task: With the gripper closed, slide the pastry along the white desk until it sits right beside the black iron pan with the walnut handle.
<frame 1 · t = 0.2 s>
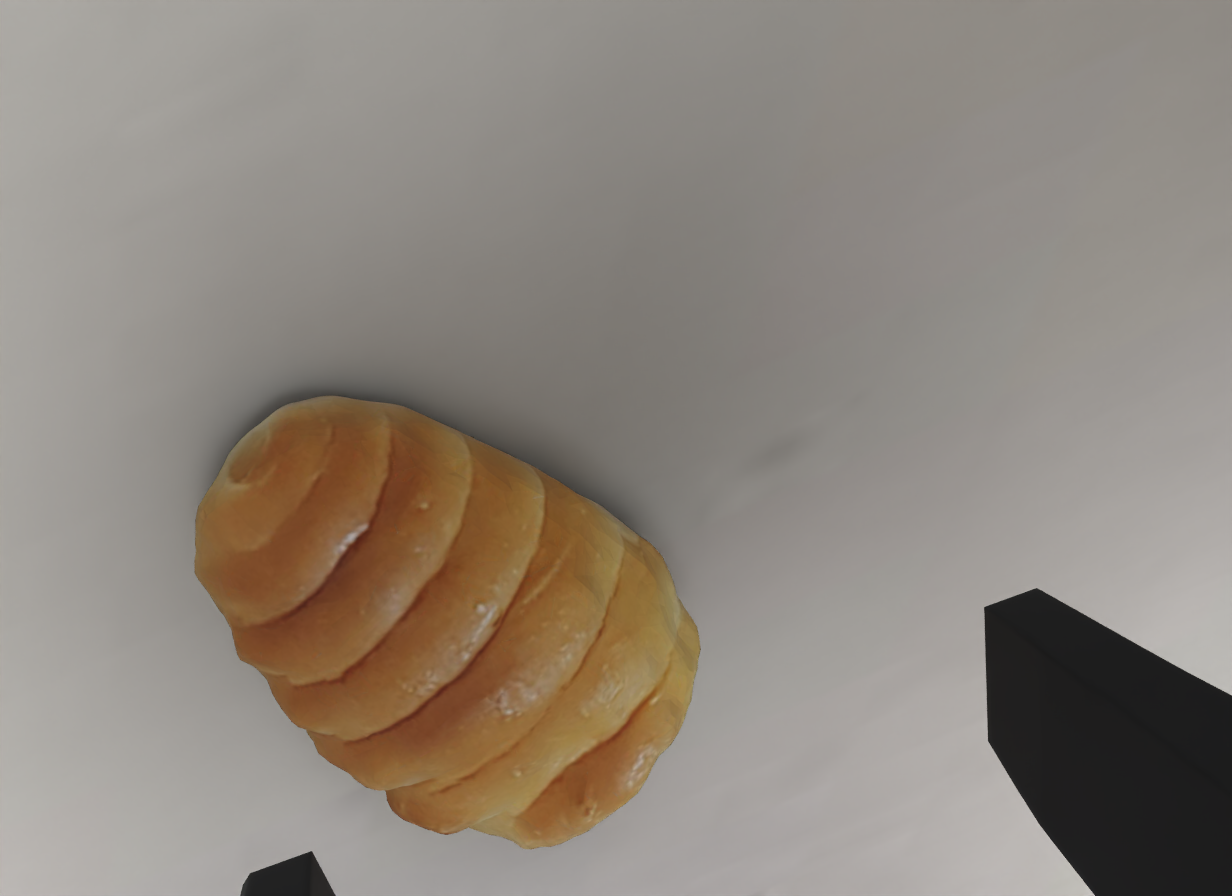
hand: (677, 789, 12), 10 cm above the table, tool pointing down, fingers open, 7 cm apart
pastry: (446, 588, 23), on the table
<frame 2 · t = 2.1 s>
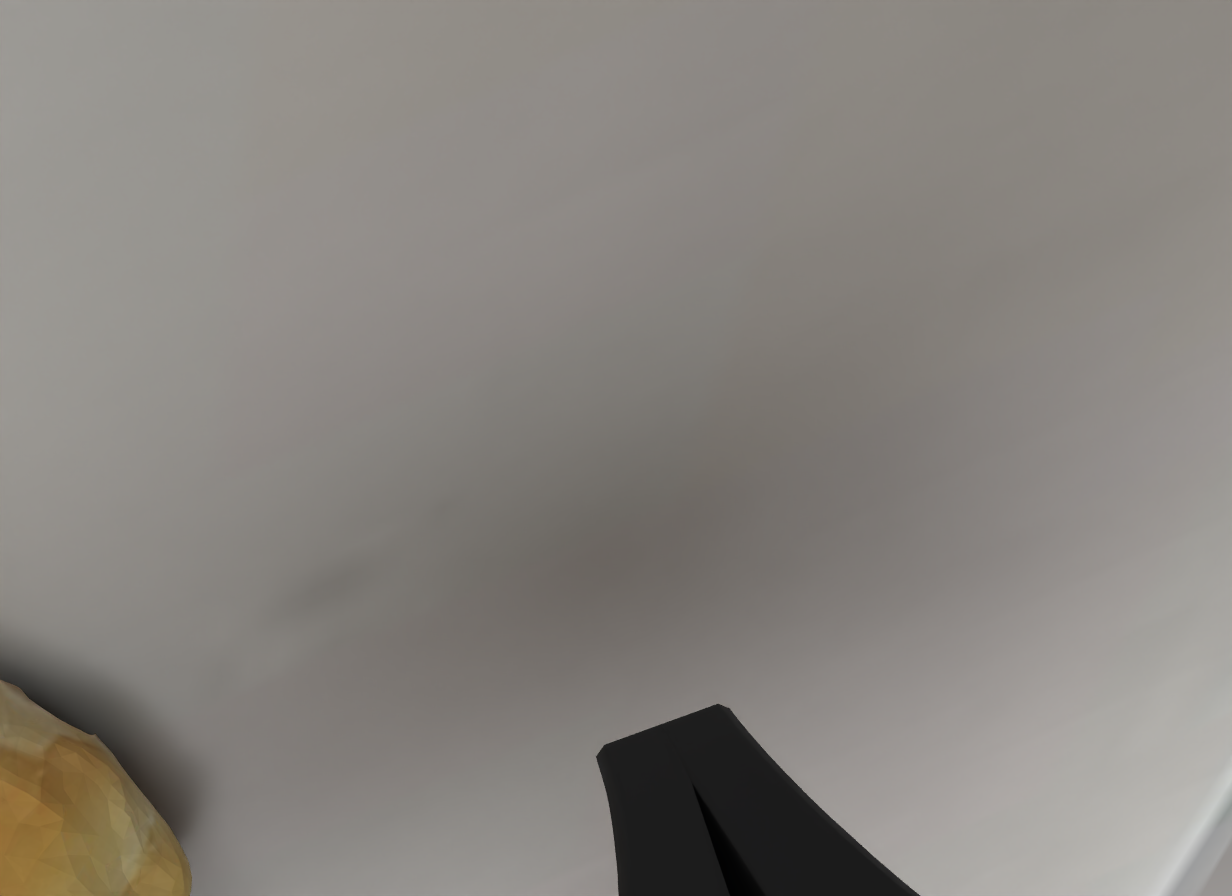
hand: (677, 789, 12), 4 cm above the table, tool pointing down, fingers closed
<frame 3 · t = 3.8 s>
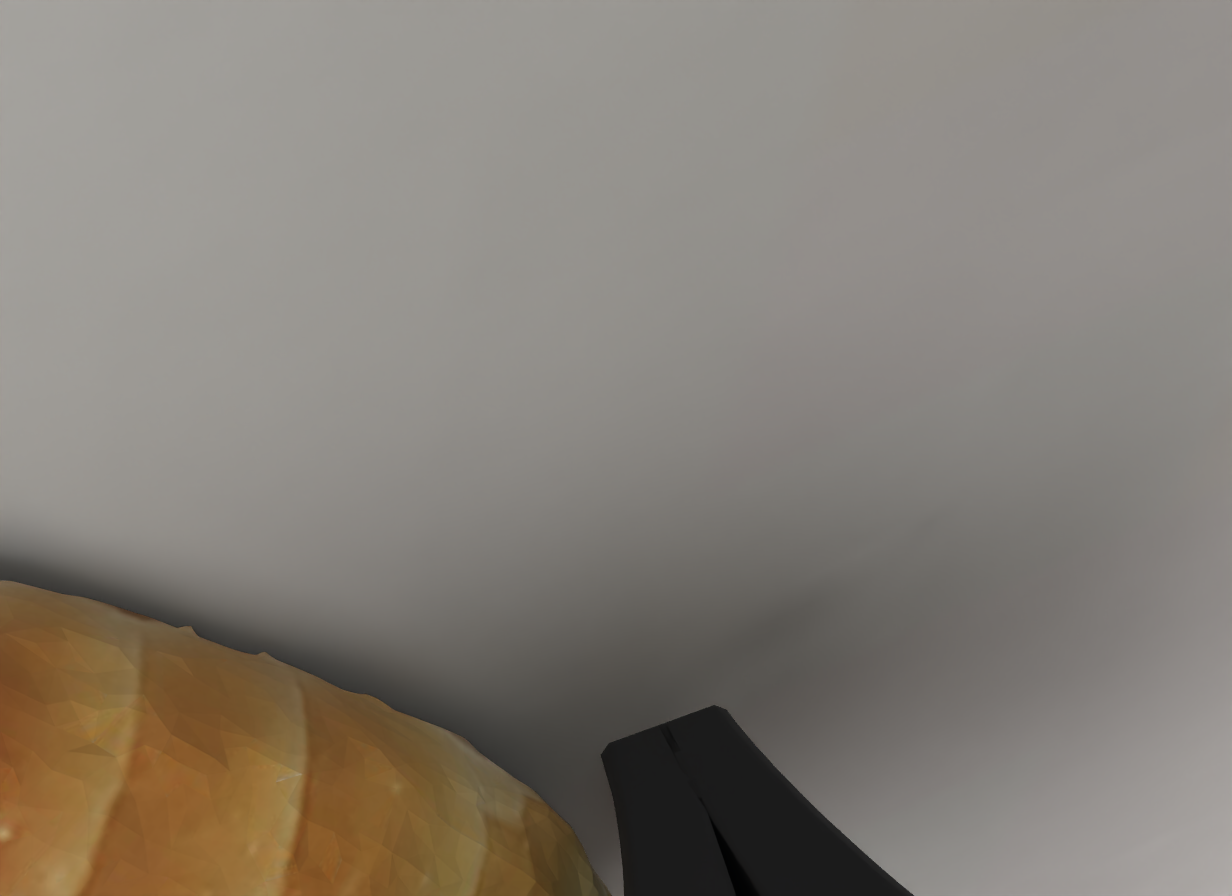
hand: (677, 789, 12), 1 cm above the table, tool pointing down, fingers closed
pastry: (186, 876, 12), on the table, touching gripper
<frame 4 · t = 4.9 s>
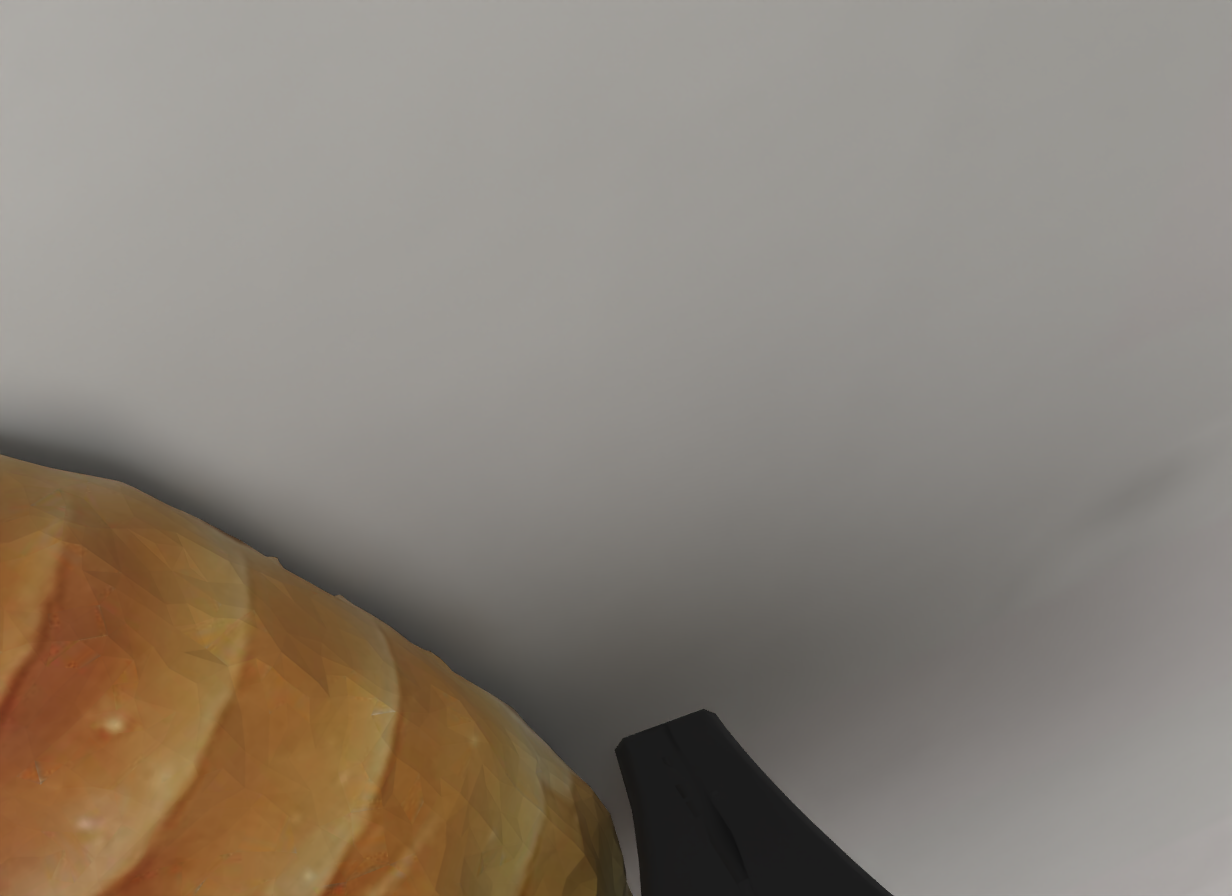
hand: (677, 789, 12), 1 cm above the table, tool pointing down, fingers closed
pastry: (202, 820, 12), on the table, touching gripper
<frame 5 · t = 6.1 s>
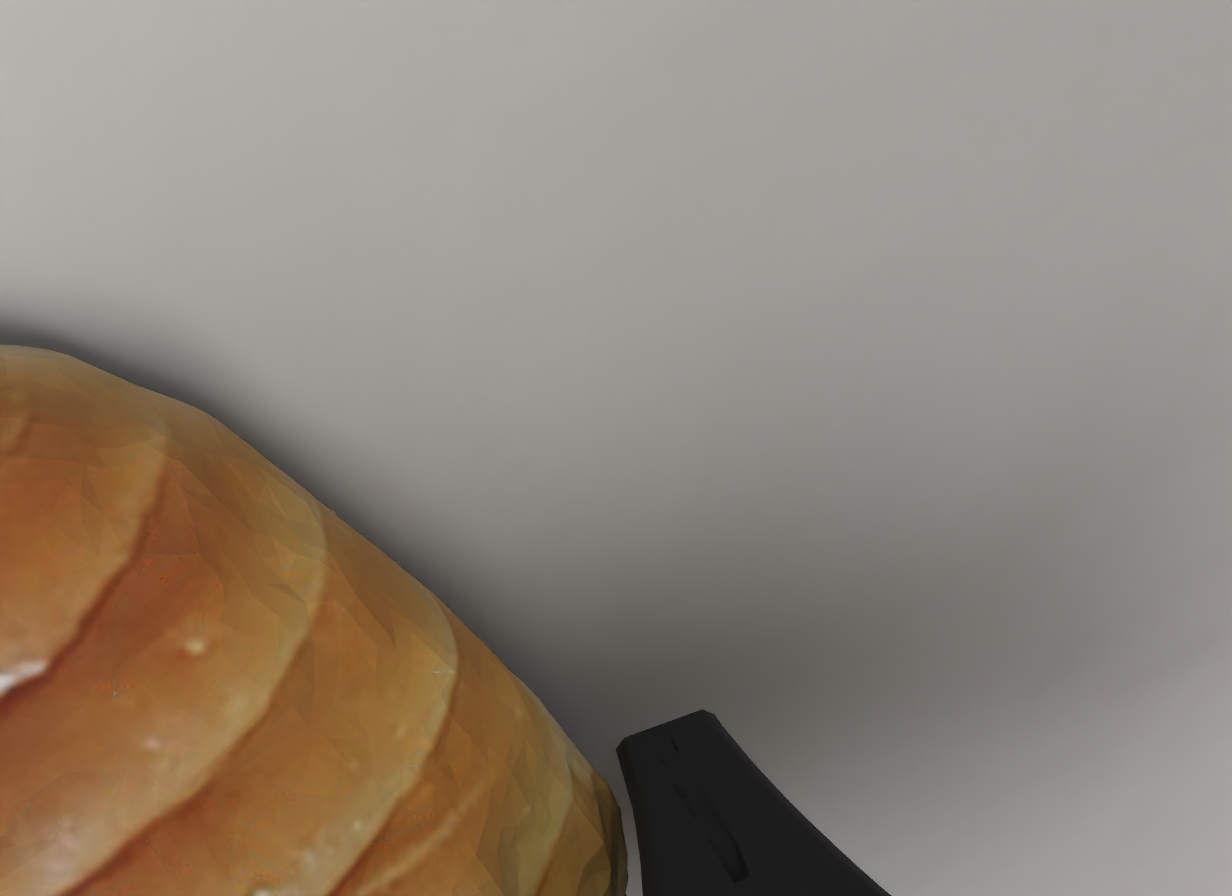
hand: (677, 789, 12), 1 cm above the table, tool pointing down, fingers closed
pastry: (202, 776, 12), on the table, touching gripper
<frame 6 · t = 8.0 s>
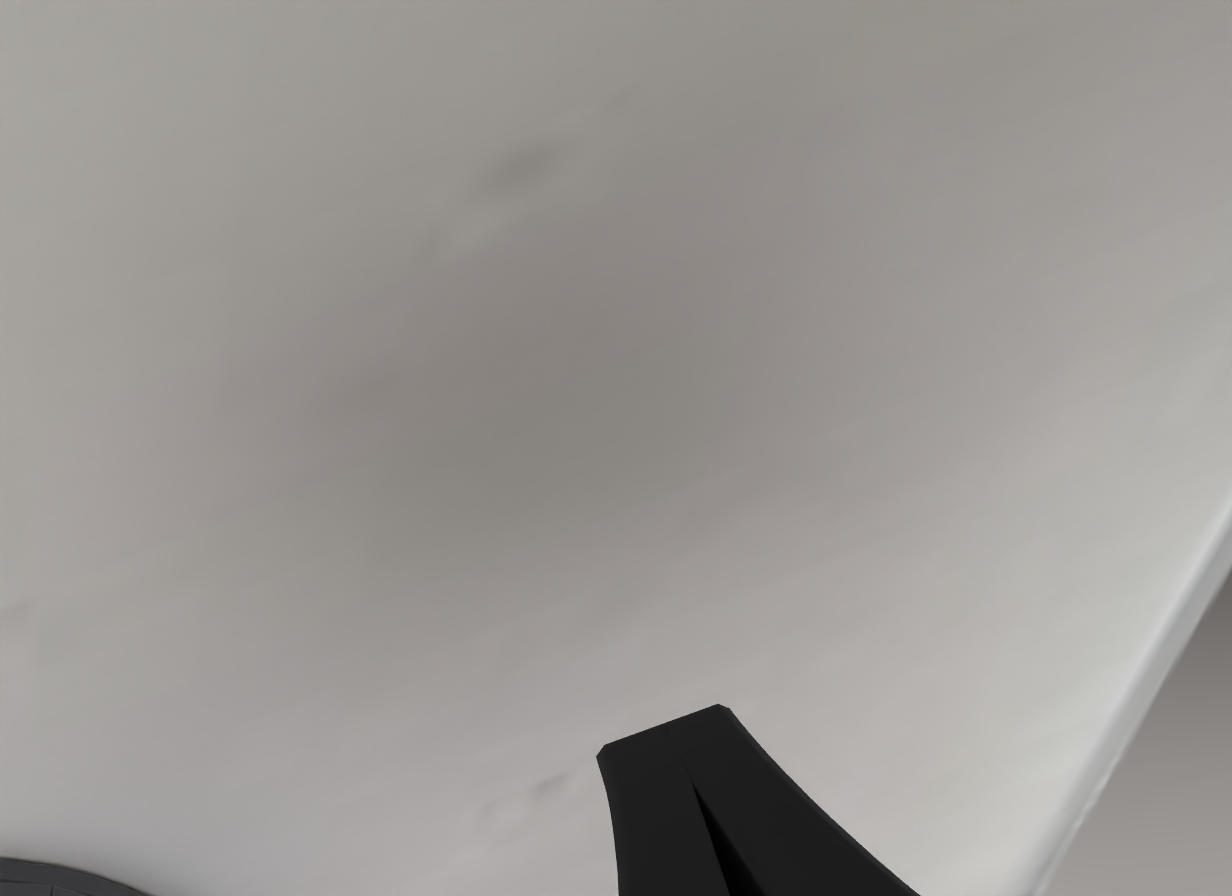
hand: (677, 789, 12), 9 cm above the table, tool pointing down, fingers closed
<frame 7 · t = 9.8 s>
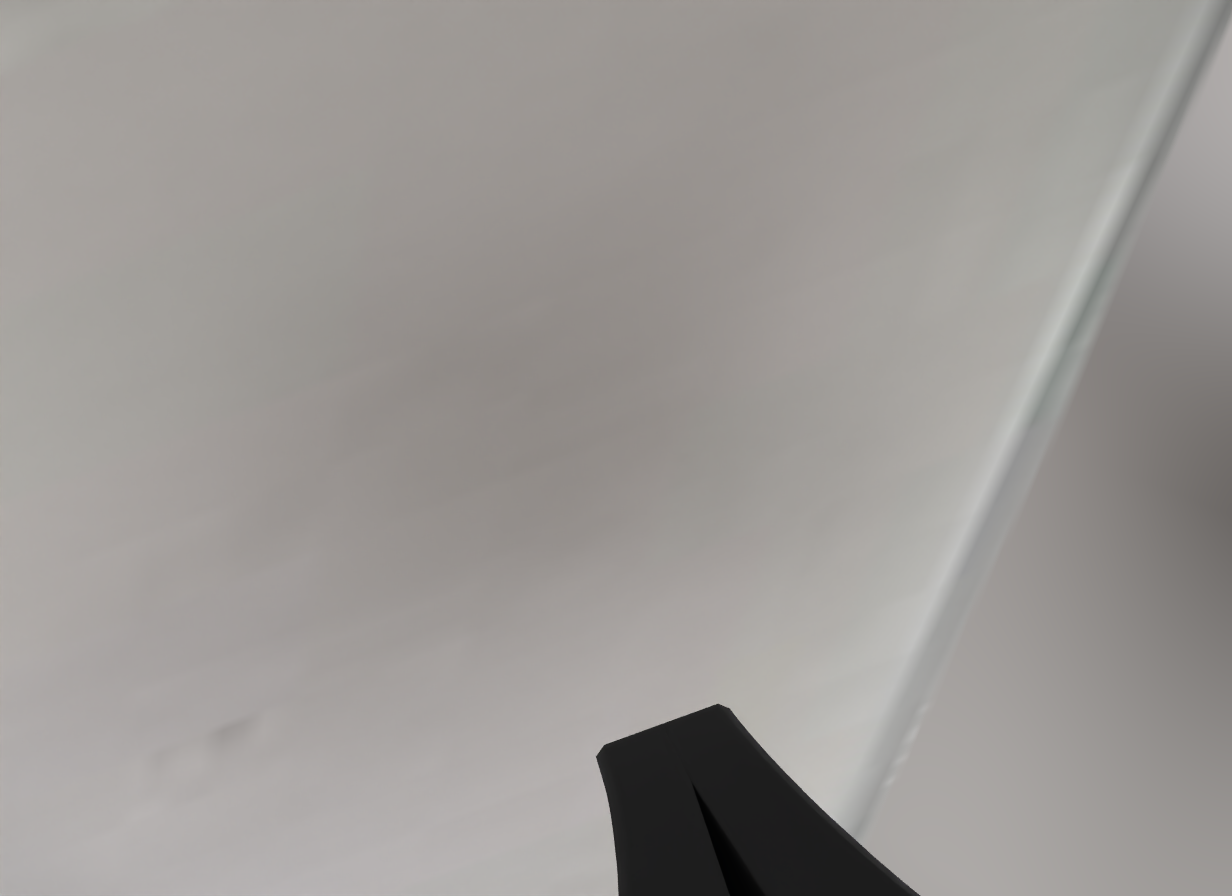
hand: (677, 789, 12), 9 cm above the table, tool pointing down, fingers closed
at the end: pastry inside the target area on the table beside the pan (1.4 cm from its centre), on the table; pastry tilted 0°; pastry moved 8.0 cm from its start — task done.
